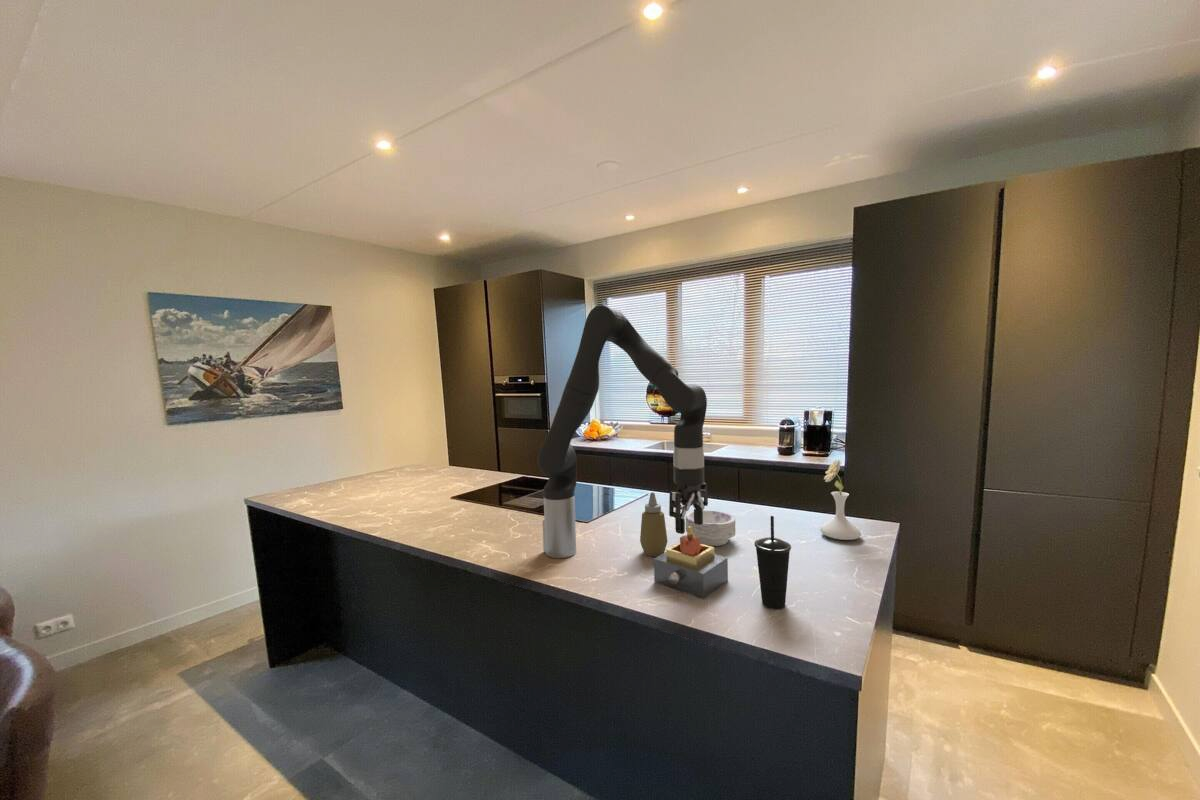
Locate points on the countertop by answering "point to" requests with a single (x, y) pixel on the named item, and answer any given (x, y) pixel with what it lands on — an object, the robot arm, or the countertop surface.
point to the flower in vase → (839, 511)
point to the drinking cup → (773, 569)
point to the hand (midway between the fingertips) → (689, 528)
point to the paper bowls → (712, 527)
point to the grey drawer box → (691, 571)
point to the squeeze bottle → (653, 529)
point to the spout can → (690, 543)
